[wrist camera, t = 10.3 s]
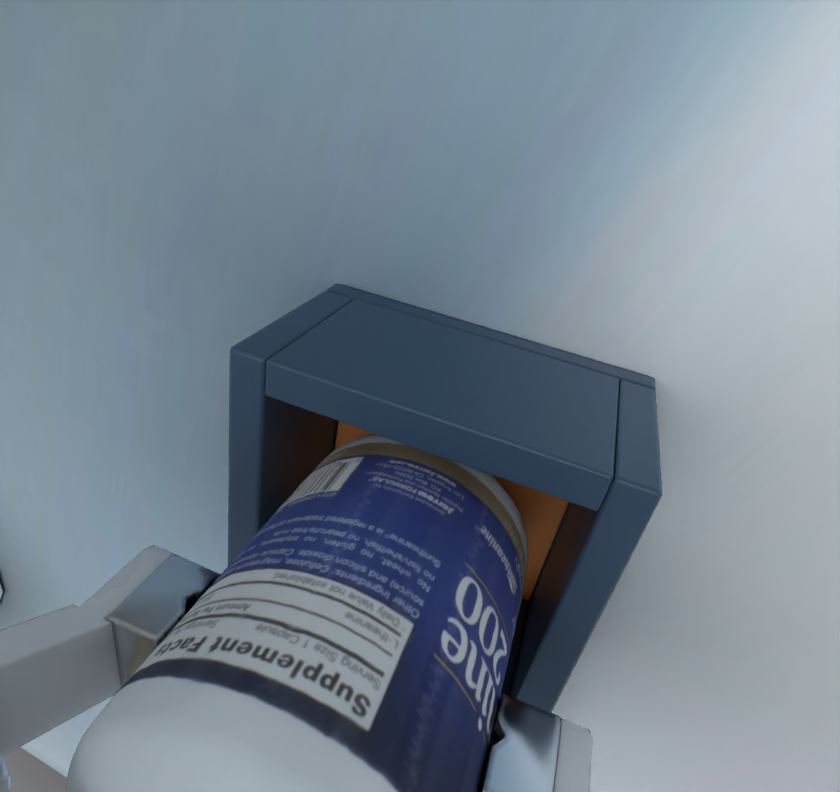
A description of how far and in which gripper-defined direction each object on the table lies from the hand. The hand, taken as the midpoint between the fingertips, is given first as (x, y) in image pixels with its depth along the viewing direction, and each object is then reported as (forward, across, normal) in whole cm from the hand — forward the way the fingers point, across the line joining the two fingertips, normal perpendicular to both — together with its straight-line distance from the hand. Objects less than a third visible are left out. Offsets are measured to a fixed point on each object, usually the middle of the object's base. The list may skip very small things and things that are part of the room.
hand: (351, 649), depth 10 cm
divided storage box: (+7, 0, +4) cm, 8 cm away
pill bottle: (+4, 0, 0) cm, 4 cm away
